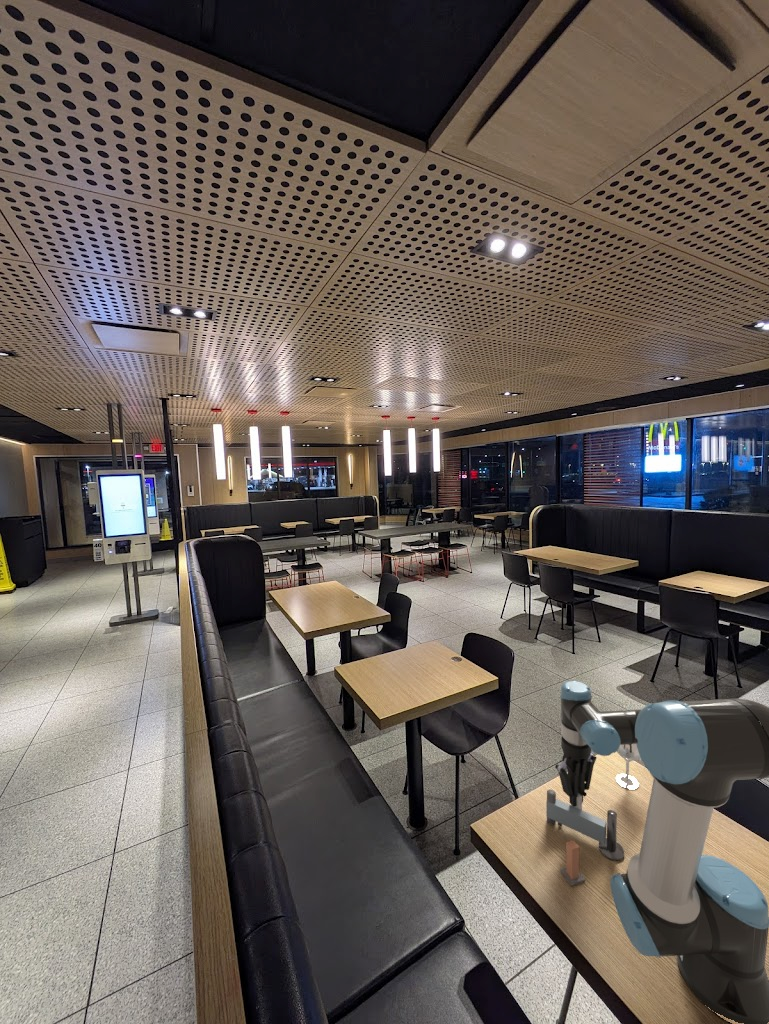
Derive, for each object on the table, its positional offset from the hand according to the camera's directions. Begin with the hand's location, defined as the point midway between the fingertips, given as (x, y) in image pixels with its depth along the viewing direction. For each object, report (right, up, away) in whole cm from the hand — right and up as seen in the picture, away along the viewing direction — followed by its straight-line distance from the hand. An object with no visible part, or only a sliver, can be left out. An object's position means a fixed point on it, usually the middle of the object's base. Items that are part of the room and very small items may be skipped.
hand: (576, 813), depth 119 cm
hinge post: (+6, -5, -7) cm, 10 cm away
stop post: (-7, -6, -14) cm, 16 cm away
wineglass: (+23, -1, +15) cm, 28 cm away
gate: (-1, -4, -2) cm, 4 cm away
